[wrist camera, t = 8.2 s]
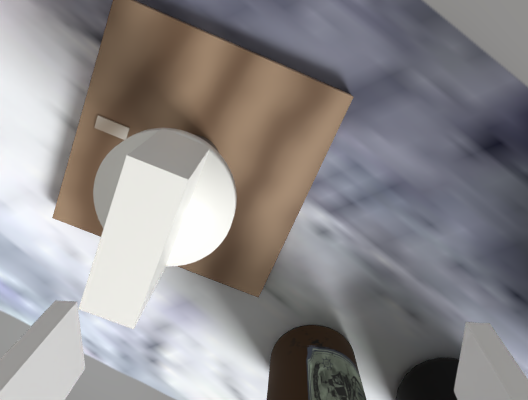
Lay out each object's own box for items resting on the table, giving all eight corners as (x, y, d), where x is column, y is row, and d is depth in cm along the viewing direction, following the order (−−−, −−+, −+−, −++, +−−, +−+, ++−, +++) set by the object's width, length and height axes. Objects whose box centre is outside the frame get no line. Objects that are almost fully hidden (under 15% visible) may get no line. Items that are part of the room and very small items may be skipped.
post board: (350, 94, 43) (372, 114, 32) (259, 287, 50) (251, 358, 39) (122, -5, 41) (63, -19, 30) (61, 210, 49) (-5, 262, 38)
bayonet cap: (122, 105, 33) (64, 130, 24) (257, 160, 33) (247, 202, 25) (80, 246, 36) (18, 311, 28) (202, 292, 37) (177, 368, 29)
